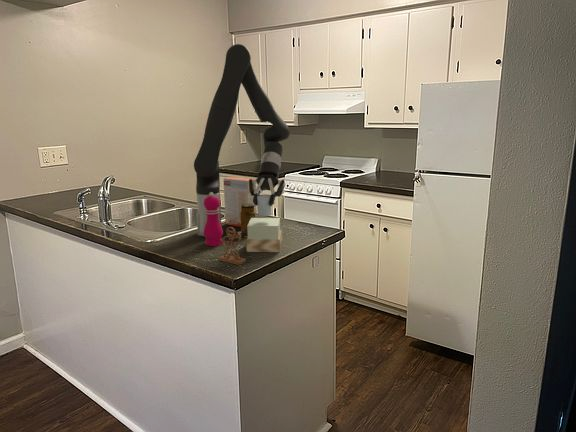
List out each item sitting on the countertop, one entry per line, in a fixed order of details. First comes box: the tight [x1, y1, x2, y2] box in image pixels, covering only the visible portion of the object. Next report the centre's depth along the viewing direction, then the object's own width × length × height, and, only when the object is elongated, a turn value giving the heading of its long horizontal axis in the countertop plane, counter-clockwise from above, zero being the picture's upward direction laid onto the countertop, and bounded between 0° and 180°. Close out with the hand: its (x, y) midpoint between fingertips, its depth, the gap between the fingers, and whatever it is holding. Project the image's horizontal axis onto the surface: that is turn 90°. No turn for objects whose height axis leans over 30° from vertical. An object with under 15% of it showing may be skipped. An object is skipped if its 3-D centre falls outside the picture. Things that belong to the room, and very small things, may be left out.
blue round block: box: [256, 193, 272, 217], centre depth 159 cm, size 5×5×7 cm
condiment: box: [236, 204, 256, 238], centre depth 178 cm, size 7×8×12 cm
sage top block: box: [247, 217, 281, 239], centre depth 161 cm, size 11×11×5 cm
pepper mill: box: [203, 192, 224, 247], centre depth 164 cm, size 7×7×20 cm
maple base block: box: [245, 229, 283, 253], centre depth 162 cm, size 12×12×5 cm
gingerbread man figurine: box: [218, 226, 247, 266], centre depth 147 cm, size 9×4×12 cm, turn 58°
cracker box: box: [223, 176, 258, 228], centre depth 189 cm, size 14×6×21 cm, turn 53°
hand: (263, 204), depth 157 cm, fingers closed on blue round block, 5 cm apart
